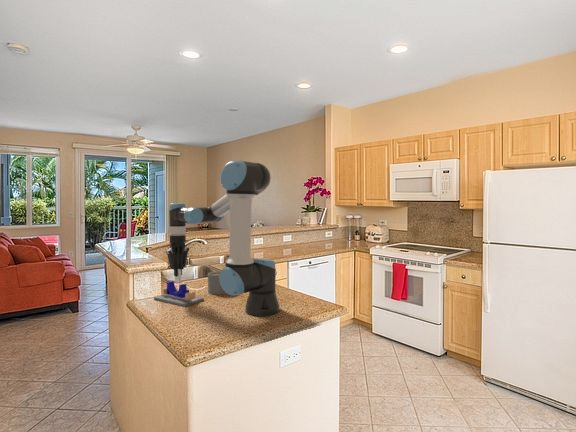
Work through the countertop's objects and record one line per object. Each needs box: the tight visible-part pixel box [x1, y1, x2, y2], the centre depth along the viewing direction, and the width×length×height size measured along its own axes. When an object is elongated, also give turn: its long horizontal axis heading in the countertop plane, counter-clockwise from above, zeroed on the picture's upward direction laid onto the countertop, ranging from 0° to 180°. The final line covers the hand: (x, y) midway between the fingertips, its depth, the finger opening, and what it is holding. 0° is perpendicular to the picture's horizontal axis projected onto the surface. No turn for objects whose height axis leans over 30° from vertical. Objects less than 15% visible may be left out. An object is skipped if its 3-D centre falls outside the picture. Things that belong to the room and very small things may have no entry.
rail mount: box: [153, 287, 205, 308], centre depth 173 cm, size 22×12×5 cm, turn 58°
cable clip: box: [166, 280, 190, 298], centre depth 174 cm, size 12×4×6 cm, turn 52°
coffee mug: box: [207, 271, 227, 295], centre depth 191 cm, size 13×10×10 cm
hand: (178, 282), depth 173 cm, fingers closed
